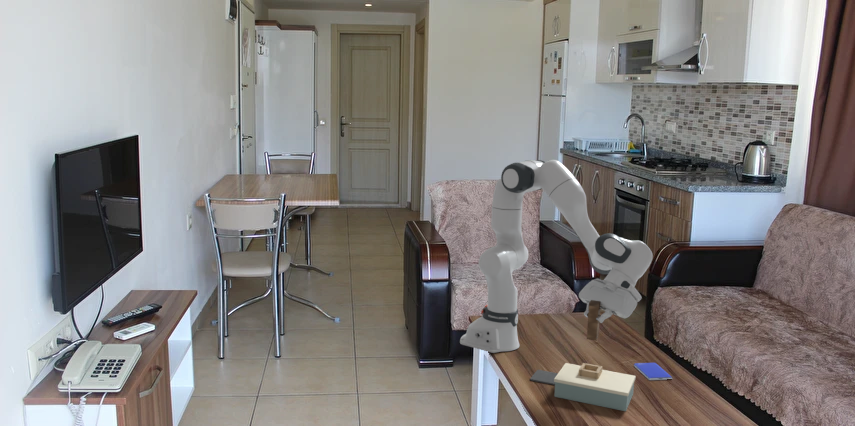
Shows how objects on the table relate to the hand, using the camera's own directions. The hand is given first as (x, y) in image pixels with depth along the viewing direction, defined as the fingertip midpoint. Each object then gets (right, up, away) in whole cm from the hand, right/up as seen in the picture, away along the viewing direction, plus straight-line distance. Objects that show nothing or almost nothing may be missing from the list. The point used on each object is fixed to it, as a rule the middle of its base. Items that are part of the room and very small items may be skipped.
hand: (592, 318), depth 217 cm
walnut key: (0, -6, +2) cm, 7 cm away
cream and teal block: (+1, -25, +2) cm, 25 cm away
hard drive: (+26, -23, +21) cm, 40 cm away
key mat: (-12, -22, +14) cm, 29 cm away
